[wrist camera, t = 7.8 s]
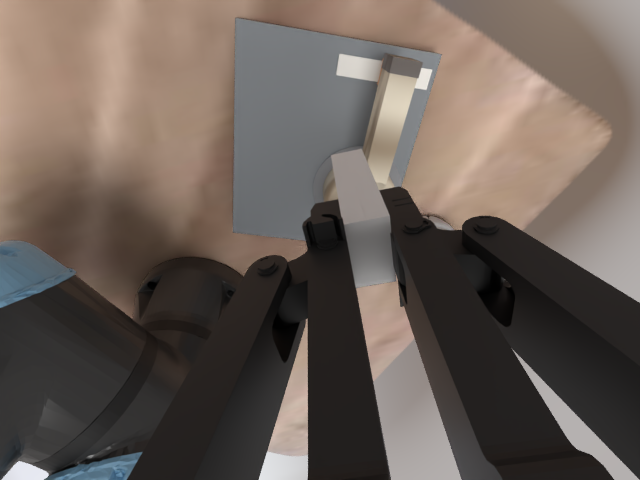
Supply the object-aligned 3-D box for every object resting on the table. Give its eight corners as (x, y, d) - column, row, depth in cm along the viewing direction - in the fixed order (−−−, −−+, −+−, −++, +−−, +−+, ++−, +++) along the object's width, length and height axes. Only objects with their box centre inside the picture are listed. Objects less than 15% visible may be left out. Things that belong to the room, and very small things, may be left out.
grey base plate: (378, 239, 40) (382, 251, 38) (236, 223, 39) (232, 235, 37) (434, 52, 30) (443, 55, 28) (239, 17, 28) (234, 17, 26)
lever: (380, 224, 37) (393, 260, 31) (317, 215, 36) (319, 251, 30) (431, 60, 28) (462, 70, 22) (349, 44, 27) (360, 51, 22)
